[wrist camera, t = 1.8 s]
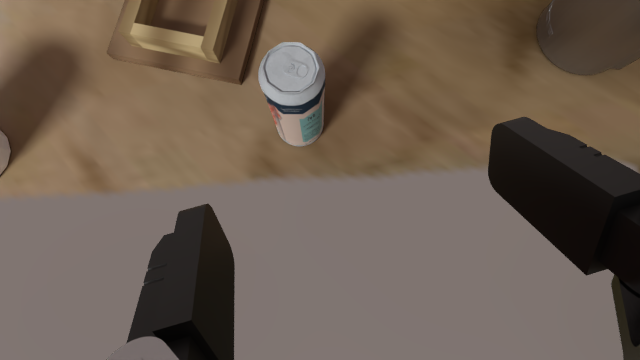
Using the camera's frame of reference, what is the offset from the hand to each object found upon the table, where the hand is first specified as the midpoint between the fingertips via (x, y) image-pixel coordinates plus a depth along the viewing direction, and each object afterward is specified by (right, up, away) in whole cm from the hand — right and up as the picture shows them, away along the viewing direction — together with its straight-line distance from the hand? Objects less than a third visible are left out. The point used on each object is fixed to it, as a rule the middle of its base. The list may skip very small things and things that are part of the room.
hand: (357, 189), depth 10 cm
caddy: (-15, +17, +28) cm, 36 cm away
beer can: (-3, +6, +26) cm, 27 cm away
